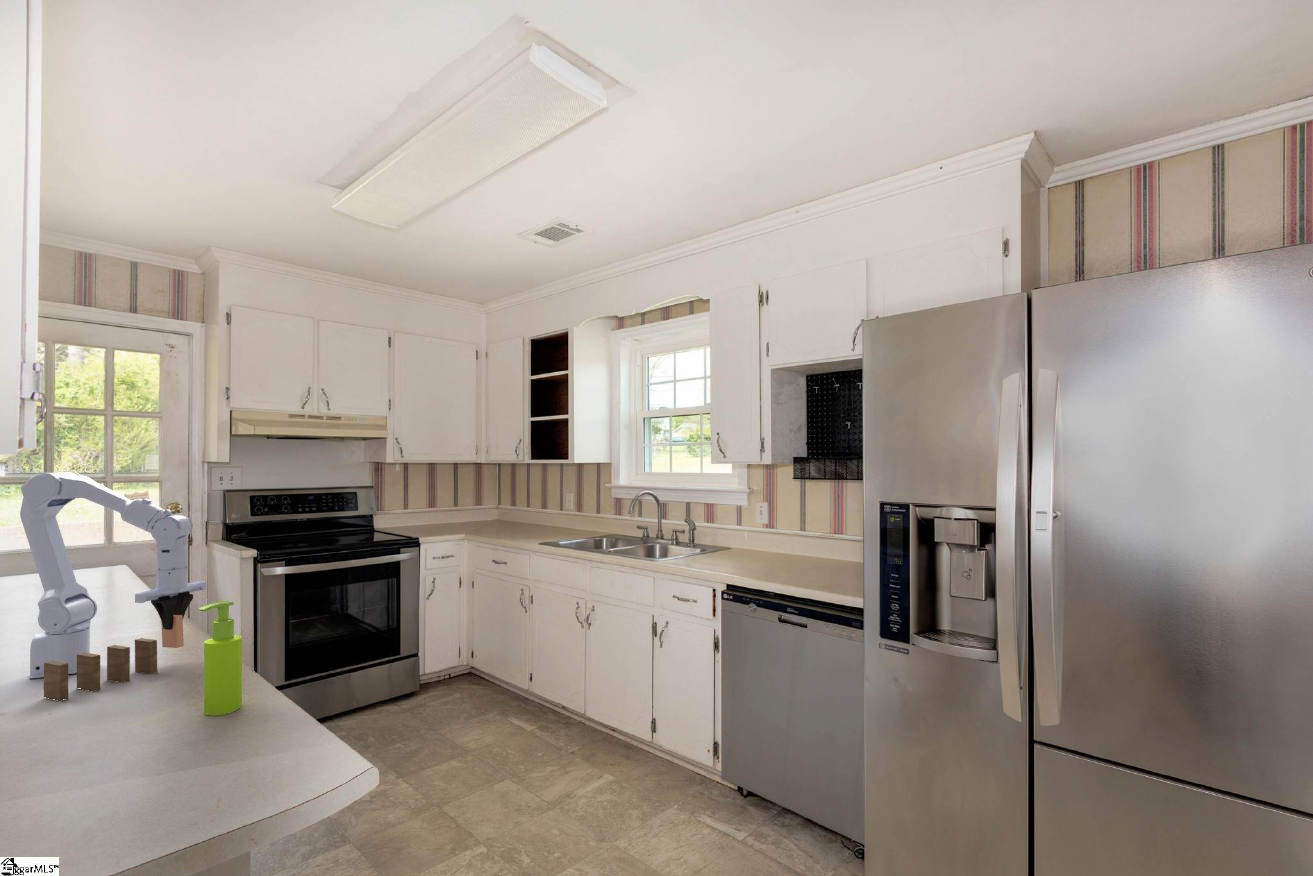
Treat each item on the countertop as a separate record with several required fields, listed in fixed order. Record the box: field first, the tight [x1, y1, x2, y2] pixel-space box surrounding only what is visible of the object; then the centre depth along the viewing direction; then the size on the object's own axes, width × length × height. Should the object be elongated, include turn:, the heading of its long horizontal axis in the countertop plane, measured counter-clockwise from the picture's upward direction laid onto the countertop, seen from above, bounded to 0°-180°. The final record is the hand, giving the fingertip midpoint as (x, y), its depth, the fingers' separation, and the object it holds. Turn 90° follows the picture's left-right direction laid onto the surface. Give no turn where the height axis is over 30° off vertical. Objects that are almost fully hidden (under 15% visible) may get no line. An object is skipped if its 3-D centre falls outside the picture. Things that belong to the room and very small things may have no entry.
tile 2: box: [134, 637, 158, 675], centre depth 145 cm, size 1×5×7 cm, turn 70°
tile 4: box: [76, 653, 101, 692], centre depth 135 cm, size 1×5×7 cm, turn 69°
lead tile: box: [160, 615, 185, 649], centre depth 150 cm, size 1×5×7 cm, turn 69°
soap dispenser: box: [197, 600, 243, 717], centre depth 123 cm, size 6×7×20 cm
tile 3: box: [106, 644, 131, 684], centre depth 140 cm, size 1×5×7 cm, turn 70°
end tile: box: [43, 661, 69, 702], centre depth 130 cm, size 1×5×7 cm, turn 69°
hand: (172, 628), depth 150 cm, fingers closed on lead tile, 1 cm apart
